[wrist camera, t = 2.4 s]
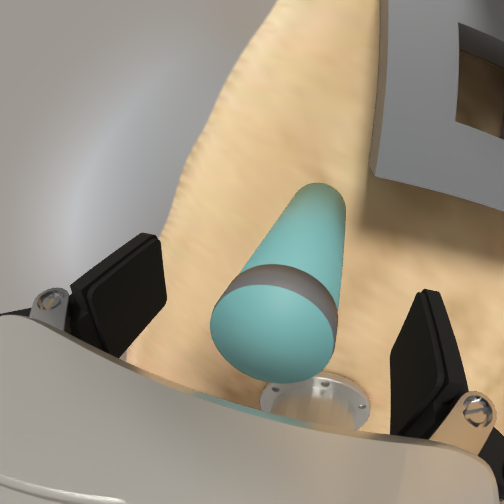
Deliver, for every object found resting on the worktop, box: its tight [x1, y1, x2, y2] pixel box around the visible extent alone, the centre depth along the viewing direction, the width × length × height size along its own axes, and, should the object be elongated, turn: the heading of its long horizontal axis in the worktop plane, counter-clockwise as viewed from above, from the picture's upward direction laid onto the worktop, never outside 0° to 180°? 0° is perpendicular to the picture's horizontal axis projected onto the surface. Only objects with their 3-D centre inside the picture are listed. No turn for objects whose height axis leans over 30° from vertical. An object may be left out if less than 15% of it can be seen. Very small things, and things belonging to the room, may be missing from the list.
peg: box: [210, 183, 346, 384], centre depth 15 cm, size 4×4×14 cm
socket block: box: [369, 0, 504, 212], centre depth 11 cm, size 14×14×5 cm
